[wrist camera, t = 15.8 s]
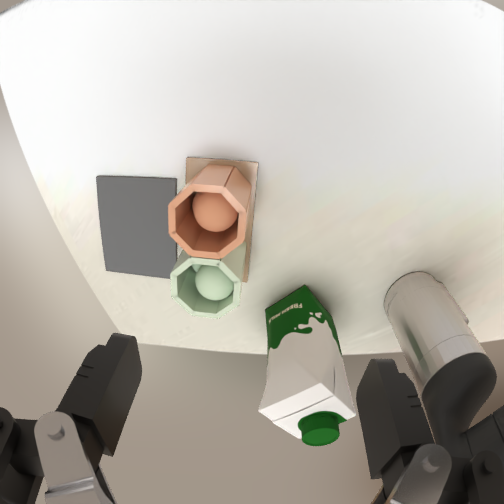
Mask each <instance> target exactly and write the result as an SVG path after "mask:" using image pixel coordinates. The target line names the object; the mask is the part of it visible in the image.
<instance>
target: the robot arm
mask: <svg viewBox="0 0 504 504" xmlns="http://www.w3.org/2000/svg"><path fill="white" fill-rule="evenodd" d="M384 308H385V312H386V314H387V316H388V318H389V321H390V323H391V325H392V327H393V330H394V332H395V335H396V337H397V339H398V341H399V344H400V346H401V349H402V351H403V353H404V356H405V358H406V360H407V363H408V365H409V368H410V370H411V373H412V375H413V378H414V380H415V383H416V385H417V388H418V391H419V393H420V396H421V398H422V401H423V404H424V407H425V410H426V412H427V417H428V420H429V423H430V426H431V429H432V432H433V435H434V439H435V442H434V440H433V437H432V434H431V431H430V428H429V425H428V422H427V419H426V416H425V413H424V411H423V408H422V407H421V402H420V399H419V398H418V394H417V391H416V389H415V386H414V383H413V382H412V381H411V380H410V379H409V378H408V377H407V375H406V374H405V373H399V372H398V369H397V366H396V364H395V361H394V360H393V359H371V360H370V362H369V364H368V366H367V369H366V371H365V373H364V375H363V377H362V379H361V382H360V384H359V386H358V389H357V395H356V401H357V407H358V412H359V417H360V422H361V427H362V431H363V437H364V442H365V447H366V453H367V458H368V464H369V470H370V476H371V479H379V478H382V480H383V485H382V486H381V488H380V489H379V491H378V493H377V494H376V496H375V498H374V499H373V501H372V502H371V504H504V405H503V406H502V407H500V408H499V409H498V410H496V411H495V412H493V415H492V414H490V415H489V416H488V417H486V418H485V419H483V420H482V421H480V422H479V423H477V424H476V425H474V426H473V427H471V428H470V429H468V428H469V426H470V424H471V422H472V420H473V418H474V416H475V415H476V413H477V412H478V411H479V409H480V408H481V407H482V405H483V404H484V403H485V402H486V400H487V399H488V398H489V396H490V394H491V393H492V391H493V389H494V387H495V384H496V378H497V376H496V370H495V368H494V366H493V364H492V363H491V361H490V359H489V358H488V356H487V355H486V353H485V351H484V350H483V348H482V347H481V345H480V343H479V342H478V340H477V339H476V337H475V336H474V334H473V333H472V331H471V330H470V328H469V327H468V322H469V321H468V318H467V317H466V315H465V314H464V312H463V311H462V310H461V308H460V307H459V305H458V304H457V303H456V301H455V300H454V298H453V297H452V296H451V294H450V293H449V292H448V290H447V289H446V288H445V286H444V285H443V284H442V283H439V282H437V281H436V280H435V279H434V277H432V276H431V275H430V274H427V273H425V272H414V273H410V274H407V275H405V276H403V277H402V278H400V279H399V280H398V281H396V282H395V283H394V284H393V285H392V286H391V288H390V289H389V291H388V293H387V295H386V297H385V302H384ZM76 374H77V375H76V376H75V377H74V379H73V380H72V382H71V384H70V386H69V388H68V389H67V391H66V393H65V395H64V397H63V399H62V401H61V403H60V405H59V406H58V408H57V409H56V411H55V412H49V413H46V414H44V415H43V416H41V417H40V418H39V420H25V419H14V418H13V417H12V415H11V414H10V413H9V412H8V411H7V410H6V409H4V408H1V407H0V504H35V501H36V498H37V495H38V492H39V489H40V486H41V483H42V480H43V477H45V479H46V482H47V486H48V491H47V492H45V501H46V504H117V502H116V500H115V497H114V495H113V493H112V491H111V489H110V487H109V484H108V482H107V480H106V477H105V475H104V473H103V470H102V468H101V465H100V460H101V457H102V454H105V455H108V456H112V457H113V455H114V452H115V449H116V446H117V444H118V441H119V438H120V435H121V432H122V429H123V427H124V424H125V421H126V419H127V416H128V413H129V410H130V408H131V405H132V402H133V400H134V397H135V394H136V392H137V389H138V387H139V384H140V381H141V376H142V365H141V361H140V356H139V351H138V345H137V340H136V338H135V337H134V336H130V335H124V334H118V333H113V334H112V335H111V337H110V339H109V340H108V342H107V344H106V346H104V345H97V346H96V347H95V348H94V349H92V350H91V351H90V352H89V353H88V354H87V356H86V357H85V359H84V361H83V363H82V366H81V367H80V368H79V370H78V371H77V373H76ZM435 443H436V444H435Z"/></svg>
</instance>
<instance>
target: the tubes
mask: <svg viewBox="0 0 504 504" xmlns="http://www.w3.org/2000/svg"><path fill="white" fill-rule="evenodd" d="M257 171H258V162H249V161H237V160H224V159H209V158H192V157H187V158H186V185H185V186H184V188H183V189H182V190H181V191H180V192H179V193H178V194H177V195H176V196H175V198H174V199H173V200H172V201H171V202H170V203H169V205H168V226H169V234H170V236H171V237H172V238H173V239H174V240H175V241H176V242H177V243H178V244H179V245H180V246H181V247H182V248H183V250H182V252H181V254H180V256H179V258H178V260H177V262H176V264H175V266H174V268H173V270H172V272H171V274H170V280H171V297H172V299H174V300H175V301H176V302H177V303H178V304H179V305H180V306H181V307H182V308H183V309H184V310H185V311H187V312H188V313H189V314H190V315H192V316H197V317H206V318H214V319H218V318H221V317H222V316H224V315H225V314H227V313H228V312H230V311H231V310H233V309H235V308H236V307H238V306H239V303H240V296H241V289H242V282H247V280H248V269H249V258H250V247H251V236H252V225H253V214H254V203H255V192H256V181H257ZM197 192H209V193H221V194H222V195H223V196H224V197H225V199H226V200H227V201H228V202H229V203H230V204H231V205H232V206H233V207H234V208H235V210H236V211H237V212H238V216H237V219H236V221H235V222H234V223H233V225H232V226H230V227H229V228H228V229H226V230H223V231H219V232H213V231H209V230H206V229H204V228H203V227H202V226H200V225H199V223H198V222H197V220H196V218H195V215H194V212H193V208H192V202H193V198H194V196H195V194H196V193H197ZM192 264H201V265H211V266H218V267H219V268H220V269H221V270H222V271H223V272H224V273H225V274H226V275H227V276H228V277H229V278H230V279H231V280H232V281H233V282H234V289H233V291H232V293H231V294H230V295H229V296H228V297H226V298H224V299H222V300H209V299H207V298H205V297H203V296H202V295H201V294H200V293H199V291H198V289H197V287H196V283H195V277H196V273H197V272H196V271H195V270H194V269H193V267H192Z"/></svg>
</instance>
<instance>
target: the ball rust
mask: <svg viewBox="0 0 504 504" xmlns="http://www.w3.org/2000/svg"><path fill="white" fill-rule="evenodd" d="M194 215H195V218H196V220H197V222H198V223H199V225H200V226H202V227H203V228H204V229H206V230H209V231H213V232H219V231H223V230H226V229H228V228H229V227H230V226H232V225H233V223H234V222H235V221H236V219H237V216H238V212H237V211H236V210H235V208H234V207H233V206H232V205H231V204H230V203H229V202H228V201H227V200H226V199H225V197H224V196H223V195H222V194H221V193H209V192H201V193H200V194H199V196H198V197H197V199H196V201H195V203H194Z"/></svg>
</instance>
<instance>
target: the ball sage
mask: <svg viewBox="0 0 504 504" xmlns="http://www.w3.org/2000/svg"><path fill="white" fill-rule="evenodd" d="M195 283H196V287H197V289H198V291H199V293H200V294H201V295H202V296H203V297H205V298H207V299H209V300H222V299H224V298H226V297H228V296H229V295H230V294H231V293H232V291H233V289H234V282H233V281H232V280H231V279H230V278H229V277H228V276H227V275H226V274H225V273H224V272H223V271H222V270H221V269H220V268H219V267H218V266H211V265H202V266H201V267H200V268H199V269H198V271H197V273H196V277H195Z"/></svg>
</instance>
